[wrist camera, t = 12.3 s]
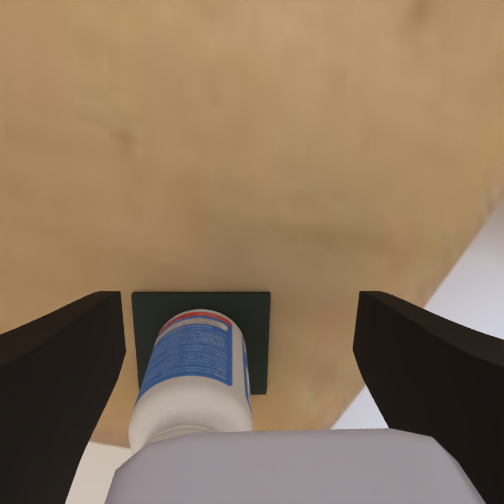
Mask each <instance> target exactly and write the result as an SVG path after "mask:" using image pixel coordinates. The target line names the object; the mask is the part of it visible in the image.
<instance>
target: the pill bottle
mask: <svg viewBox="0 0 504 504" xmlns="http://www.w3.org/2000/svg"><path fill="white" fill-rule="evenodd" d="M245 431H253V428H252V411H251V399H250V386H249V374H248V364H247V352H246V345H245V340H244V337H243V335H242V333H241V331H240V329H239V328H238V326H237V325H236V324H235V323H234V322H233V321H232V320H231V319H229V318H228V317H227V316H225V315H223V314H221V313H219V312H216V311H212V310H206V309H196V310H190V311H186V312H183V313H180V314H178V315H176V316H174V317H173V318H172V319H170V320H169V321H168V322H167V323H166V324H165V325H164V326H163V328H162V329H161V331H160V332H159V334H158V337H157V339H156V342H155V345H154V348H153V351H152V354H151V357H150V361H149V364H148V367H147V370H146V373H145V376H144V379H143V382H142V385H141V388H140V391H139V394H138V397H137V401H136V404H135V407H134V410H133V413H132V417H131V420H130V425H129V443H130V447H131V450H132V453H133V455H134V454H135V453H136V452H138V451H139V450H140V449H141V448H142V447H143V446H145V445H146V444H147V443H151V442H155V441H160V440H164V439H168V438H172V437H176V436H181V435H185V434H189V433H197V432H245Z"/></svg>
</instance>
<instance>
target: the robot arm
mask: <svg viewBox="0 0 504 504" xmlns="http://www.w3.org/2000/svg"><path fill="white" fill-rule="evenodd" d="M353 352H354V355H355V358H356V361H357V364H358V367H359V370H360V373H361V375H362V378H363V380H364V382H365V384H366V386H367V387H368V389H369V391H370V393H371V395H372V397H373V399H374V401H375V403H376V405H377V406H378V408H379V410H380V412H381V414H382V416H383V417H384V420H385V421H386V423H387V425H388V427H389V428H388V429H387V428H386V429H340V430H292V431H245V432H197V433H189V434H185V435H181V436H176V437H172V438H168V439H164V440H160V441H155V442H151V443H147V444H146V445H145V446H143V447H142V448H141V449H140V450H139V451H138V452H136V453H135V454H134V455H133V456H132V457H131V458H129V459H128V460H127V461H126V462H125V463H124V464H122V465H121V466H120V467H119V468H118V469H117V470H116V471H115V474H114V477H113V480H112V483H111V486H110V489H109V492H108V495H107V498H106V501H105V504H504V340H503V339H500V338H497V337H493V336H490V335H487V334H484V333H481V332H478V331H476V330H473V329H470V328H468V327H465V326H463V325H460V324H458V323H455V322H453V321H450V320H448V319H445V318H443V317H440V316H438V315H436V314H434V313H431V312H429V311H427V310H425V309H422V308H420V307H418V306H416V305H414V304H411V303H409V302H407V301H405V300H403V299H400V298H398V297H395V296H393V295H390V294H388V293H385V292H381V291H360V293H359V301H358V309H357V318H356V326H355V334H354V342H353ZM125 353H126V346H125V335H124V324H123V314H122V303H121V292H120V291H99V292H95V293H92V294H90V295H87V296H85V297H83V298H81V299H79V300H76V301H74V302H72V303H70V304H68V305H66V306H64V307H62V308H60V309H58V310H56V311H54V312H52V313H49V314H47V315H45V316H43V317H41V318H38V319H36V320H34V321H32V322H29V323H27V324H25V325H23V326H20V327H18V328H16V329H13V330H11V331H8V332H6V333H3V334H1V335H0V504H65V502H66V499H67V496H68V493H69V490H70V488H71V485H72V482H73V479H74V476H75V473H76V470H77V468H78V465H79V462H80V460H81V457H82V455H83V453H84V450H85V448H86V446H87V444H88V441H89V439H90V437H91V435H92V433H93V431H94V429H95V427H96V425H97V423H98V421H99V418H100V416H101V414H102V412H103V410H104V408H105V406H106V404H107V402H108V400H109V397H110V395H111V393H112V391H113V389H114V387H115V384H116V382H117V380H118V377H119V374H120V371H121V367H122V364H123V360H124V357H125Z"/></svg>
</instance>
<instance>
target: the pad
mask: <svg viewBox="0 0 504 504" xmlns="http://www.w3.org/2000/svg"><path fill="white" fill-rule="evenodd" d="M131 297H132V309H133V321H134V333H135V345H136V357H137V369H138V381H139V391H140V388H141V385H142V382H143V379H144V376H145V373H146V370H147V367H148V364H149V361H150V357H151V354H152V351H153V348H154V345H155V342H156V339H157V337H158V334H159V332H160V331H161V329H162V328H163V326H164V325H165V324H166V323H167V322H168V321H169V320H170V319H172V318H173V317H174V316H176V315H178V314H180V313H183V312H186V311H190V310H196V309H206V310H212V311H216V312H219V313H221V314H223V315H225V316H227V317H228V318H229V319H231V320H232V321H233V322H234V323H235V324H236V325H237V326H238V328H239V329H240V331H241V333H242V335H243V337H244V340H245V345H246V352H247V364H248V374H249V386H250V395H257V394H266V391H267V366H268V342H269V318H270V292H133V293H132V295H131Z"/></svg>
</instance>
